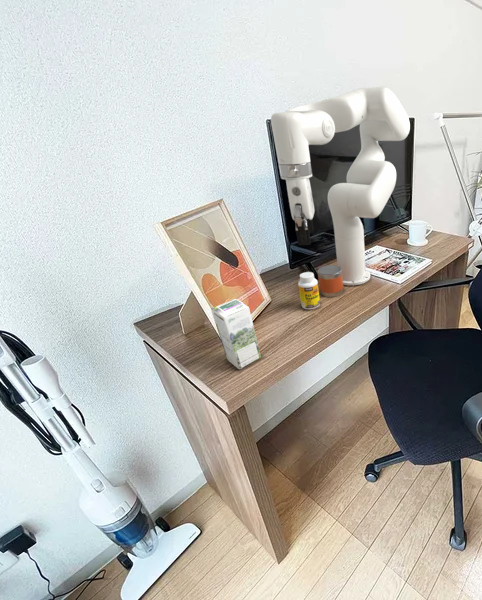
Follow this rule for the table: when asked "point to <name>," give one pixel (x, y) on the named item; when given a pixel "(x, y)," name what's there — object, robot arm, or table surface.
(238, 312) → the syrup box
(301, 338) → the table surface
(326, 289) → the tin can
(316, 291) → the supplement bottle
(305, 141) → the robot arm
